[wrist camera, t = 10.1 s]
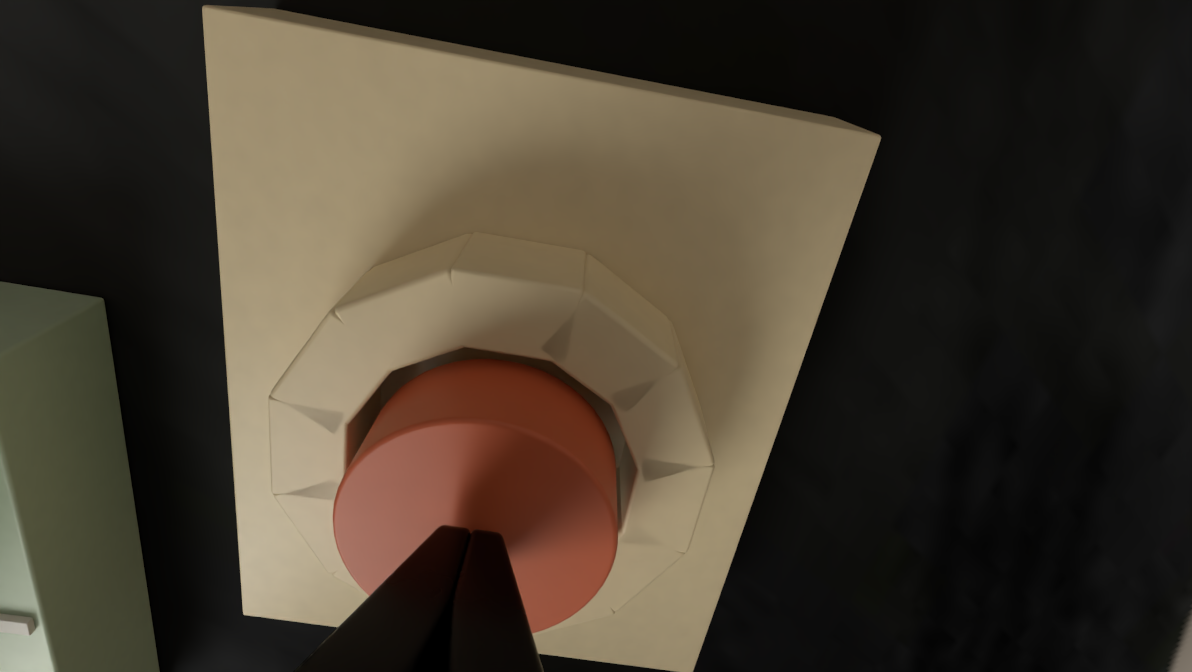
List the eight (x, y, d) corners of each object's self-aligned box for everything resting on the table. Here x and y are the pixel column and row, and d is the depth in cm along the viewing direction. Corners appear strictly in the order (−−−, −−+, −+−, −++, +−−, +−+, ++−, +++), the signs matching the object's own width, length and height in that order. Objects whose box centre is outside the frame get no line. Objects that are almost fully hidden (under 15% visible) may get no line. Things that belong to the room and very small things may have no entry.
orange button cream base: (682, 598, 17) (704, 754, 13) (286, 543, 16) (195, 691, 13) (836, 117, 12) (939, 157, 8) (271, 7, 11) (113, -1, 8)
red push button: (592, 572, 12) (591, 657, 10) (366, 541, 12) (329, 623, 10) (638, 379, 10) (644, 445, 9) (375, 337, 10) (332, 396, 8)
